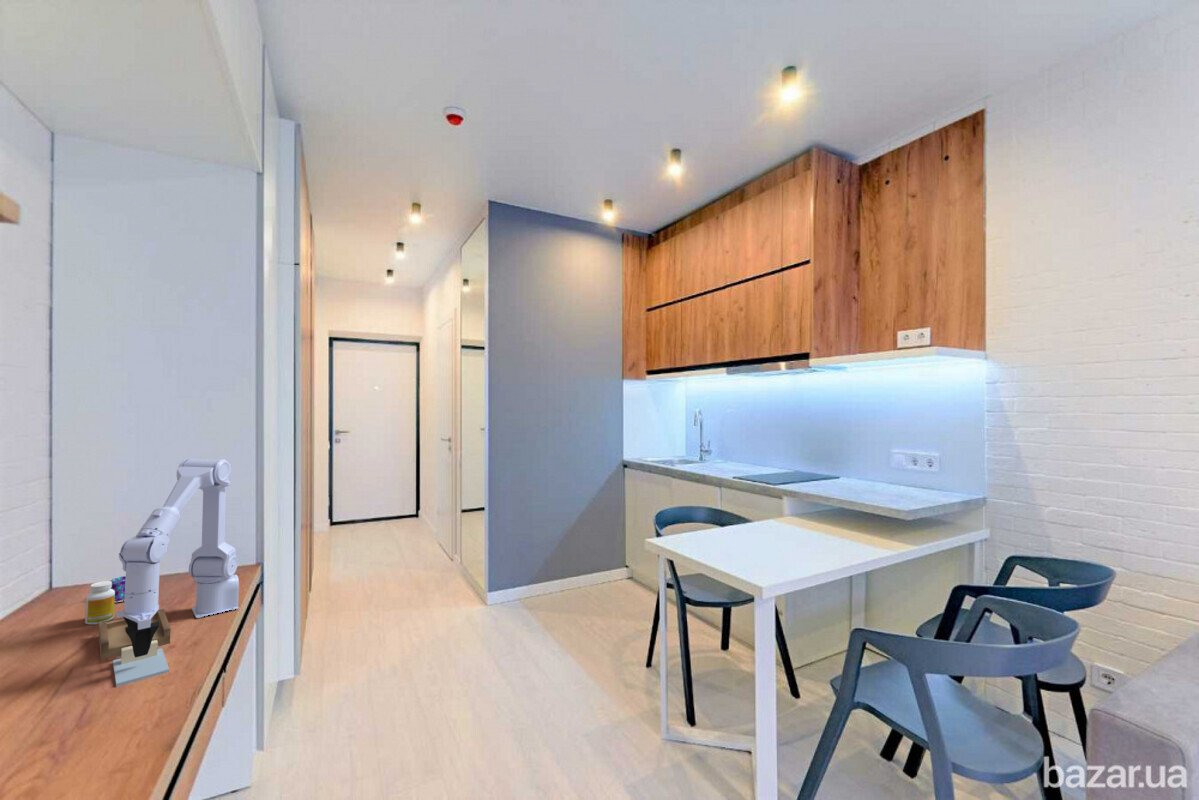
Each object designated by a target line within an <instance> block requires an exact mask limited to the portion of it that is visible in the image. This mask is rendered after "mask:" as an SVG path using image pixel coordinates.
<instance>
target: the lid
mask: <svg viewBox="0 0 1199 800" xmlns="http://www.w3.org/2000/svg"><path fill="white" fill-rule="evenodd" d="M158 647H159V646H158V642H157V640H154V641H152V642H151V645H150V649H149V652H148V654H147V655H144V656H140V657H135V656H134V653H133V647H132V646H129V647H125V648H121V655H120V658H116V659H113V660H112V666H113V667H112V668H113V672H114V681H115V687H116V688H118V687H121V686H125V685H129V684H132V682H133V683H135V682H139V680H140V681H144V680H146V679H145V678H147V679H149V678H148V677H150V678H154V677H157V676H156V675H158V676H160V674H161V675H164V674H163V673H165V674H167V672H168V673H169V672H170V668H169V665H168V661H167V658H166V655H165V653H164V649H163V647H159V648H158ZM153 676H154V677H153Z"/></svg>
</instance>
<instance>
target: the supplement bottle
mask: <svg viewBox="0 0 1199 800" xmlns="http://www.w3.org/2000/svg"><path fill="white" fill-rule="evenodd" d="M111 587H112V582H111V580H103V581H97V582H94V583H92V584H90V588H89V591H90V592H89V593H87V595H86V598H85V610H84V611H85V613H84V623H85V624H86V625H89V626H90V625H99V622H103V621H106V622H111V620H113V619H114V617H115V603H116V601H115V591H114V590H113V589H110V588H111Z"/></svg>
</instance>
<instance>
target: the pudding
mask: <svg viewBox="0 0 1199 800" xmlns="http://www.w3.org/2000/svg"><path fill="white" fill-rule="evenodd" d="M125 580H126V575H125V576H124V575H123V576H119V577H114V578H113V579H111V580H110V581H111V582H112V587H111V588H110V589H113V590H114V591H115V602H116V601H118V602H117V603H120V602H125V600H124V599H125ZM120 600H122V601H120ZM123 600H124V601H123Z"/></svg>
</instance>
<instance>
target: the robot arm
mask: <svg viewBox="0 0 1199 800" xmlns="http://www.w3.org/2000/svg"><path fill="white" fill-rule="evenodd" d="M231 478H232V465H231V463H230V462H229V461H227V460H226V459H224V458H223V459H206V458H205V459H204V458H203V459H202V458H200V459H199V458H191V457H188V458H184V459H183V460H182V461H181V462H180V463H179V465H178V468H177V469H176V483H175V484H174V486H173V488H172V489H171V492H170V494H169V495H168V497H167V499H166V500H165V502H164V504H163V506H162V507H158V508H155V509H154V510H153V511H152V512H151V514H150V515H149V516H148V518H147V519H146V521H145V523H144V524H143V525H142V526H141V528H140V529H139V531H138V532H137V534H136V535H135V536H132V537H131V538H129V539H127V540H126V541H124V542H123V544H122V546H121V548H120V551H119V553H118V558H119V559H118V560H120V562H121V563H122V570H123V572H125V576H126V580H125V601H123V603H124V606H123V610H120V611H119V610H118V611H117V612H116V617H117V618H118V619H119V618H122V619H125V621H126V623H127V625H128V627H125V631H126V633H127V635H128V636H129V637H130V639H131V642H132V647H133V653H134V656H135V657H140V656H144V655H147V654H148V652H149V649H150V645H151V642H152V639H153V636H154V634H155V632H156V631H157V629H158V628H159V626H160V622H154V623H150V622H151V618H152V617H153V616H154V615H155V613H156V612H157V611H158V610H160V604H159V597H160V596H159V592H160V591H159V590H160V589H159V588H160V571H161V569H160V568H161V561H162V559H164V557H165V556H166V554H167V552H168V548H169V544H170V542H171V538H170V537H171V536H172V534H173V532H174V531H175V529H176V527H177V526H178V524H179V523H180V521H181V520H182V517H181V514H180V512H181V511H182V510H183V508H184V507H185V506H186V505H187V503H188V502H189V501H190V499H191V498H192V497H193V496H194V495H195V493H196V492H197V491H198V490H199V489H200V490H201V491H202V516H201V517H202V519H201V521H202V523H201V525H202V526H201V530H202V531H201V546H199V547H198V548H196V549H195V550H194V551H193V552H192V553H191V559H190V562H189V565H188V573H189V576H190V578H192V579H193V582H196V587H195V588H196V590H195V591H196V593H195V594H196V595H195V606H192V607H191V611H192V613H193V616H194V617H195V619H200V618H201V619H202V618H205V617H209V616H208V615H210V616H214V615H218V614H217V613H219V614H222V612H223V613H226V612H225V611H228V612H230V611H229V610H232V611H236V610H238V609H239V593H240V591H239V590H240V582H239V576H238V574H235V573H236V571H237V569H238V566H239V559H238V557H237V550H236V548H235V547H234V546H232V545H231V544H229V543H228V542H226V515H227V514H226V512H227V511H226V509H227V487H229V486H231V480H232V479H231ZM235 609H236V610H235ZM213 614H214V615H213ZM204 616H205V617H204Z"/></svg>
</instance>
